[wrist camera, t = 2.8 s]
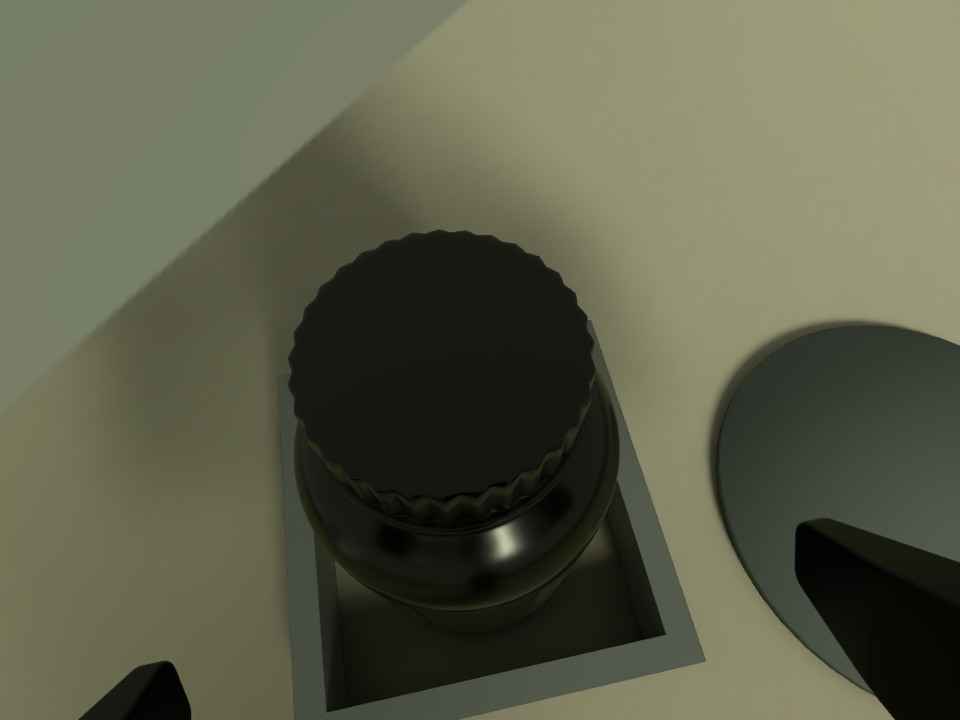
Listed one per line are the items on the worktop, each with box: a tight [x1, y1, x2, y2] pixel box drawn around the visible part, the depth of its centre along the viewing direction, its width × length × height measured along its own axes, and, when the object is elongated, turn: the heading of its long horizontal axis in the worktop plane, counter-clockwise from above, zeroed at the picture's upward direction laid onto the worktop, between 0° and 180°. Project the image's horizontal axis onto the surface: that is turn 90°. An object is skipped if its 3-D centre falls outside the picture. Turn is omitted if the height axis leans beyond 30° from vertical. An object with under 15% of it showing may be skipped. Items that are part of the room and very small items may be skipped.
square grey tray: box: [278, 320, 706, 720], centre depth 19 cm, size 11×11×2 cm
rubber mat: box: [716, 326, 960, 696], centre depth 20 cm, size 13×13×1 cm
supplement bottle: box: [288, 230, 620, 633], centre depth 14 cm, size 7×7×12 cm
